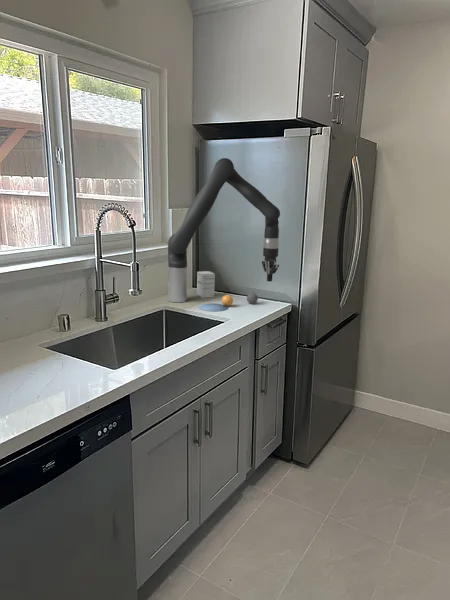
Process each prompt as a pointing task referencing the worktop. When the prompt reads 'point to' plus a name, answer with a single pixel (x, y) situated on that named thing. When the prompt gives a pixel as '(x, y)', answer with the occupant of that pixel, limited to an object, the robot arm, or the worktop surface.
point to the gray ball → (252, 298)
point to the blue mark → (213, 307)
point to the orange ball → (227, 300)
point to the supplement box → (205, 284)
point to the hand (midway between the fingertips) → (269, 281)
